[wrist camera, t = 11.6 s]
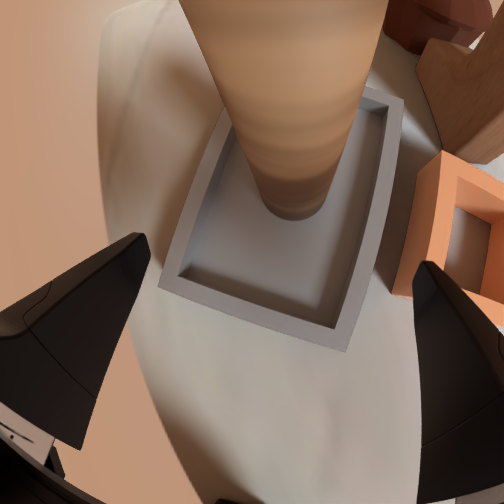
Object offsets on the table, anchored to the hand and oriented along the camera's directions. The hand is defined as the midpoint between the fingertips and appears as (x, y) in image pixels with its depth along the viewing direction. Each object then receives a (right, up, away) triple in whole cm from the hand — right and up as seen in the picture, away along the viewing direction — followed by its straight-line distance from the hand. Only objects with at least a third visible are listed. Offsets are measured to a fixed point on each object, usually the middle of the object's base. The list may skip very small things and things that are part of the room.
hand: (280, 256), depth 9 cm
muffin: (+15, +22, +9) cm, 28 cm away
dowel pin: (+2, +4, +8) cm, 9 cm away
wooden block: (+15, +11, +8) cm, 20 cm away
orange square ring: (+13, 0, +7) cm, 15 cm away
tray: (+2, +4, +9) cm, 10 cm away
